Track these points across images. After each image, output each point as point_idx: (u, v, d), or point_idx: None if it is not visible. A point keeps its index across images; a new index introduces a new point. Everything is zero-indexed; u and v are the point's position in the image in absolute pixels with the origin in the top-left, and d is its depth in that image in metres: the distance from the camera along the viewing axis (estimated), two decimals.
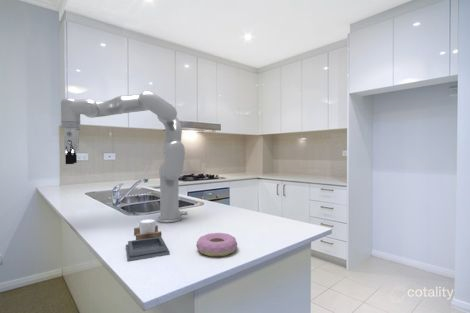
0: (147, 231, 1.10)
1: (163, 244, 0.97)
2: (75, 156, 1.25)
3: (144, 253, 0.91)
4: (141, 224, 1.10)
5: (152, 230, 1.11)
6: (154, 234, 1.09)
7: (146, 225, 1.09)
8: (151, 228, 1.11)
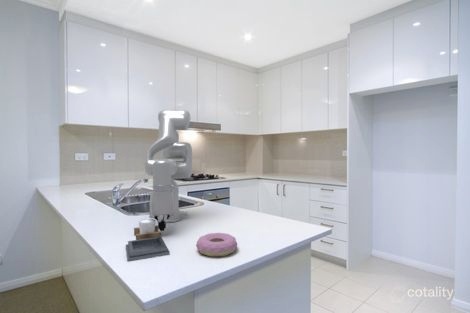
0: (147, 231, 1.10)
1: (163, 244, 0.97)
2: None
3: (144, 253, 0.91)
4: (141, 224, 1.10)
5: (152, 230, 1.11)
6: (154, 234, 1.09)
7: (146, 225, 1.09)
8: (151, 228, 1.11)
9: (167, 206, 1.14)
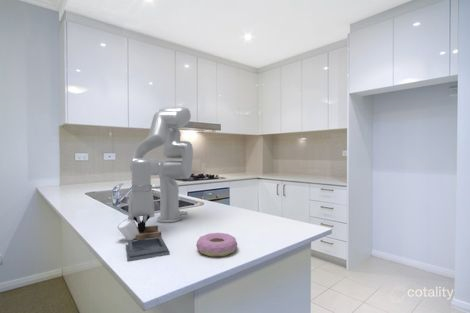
0: (130, 232, 1.06)
1: (163, 244, 0.97)
2: None
3: (144, 253, 0.91)
4: (120, 229, 1.05)
5: (134, 229, 1.07)
6: (154, 234, 1.09)
7: (125, 228, 1.05)
8: (132, 228, 1.07)
9: (147, 207, 1.10)
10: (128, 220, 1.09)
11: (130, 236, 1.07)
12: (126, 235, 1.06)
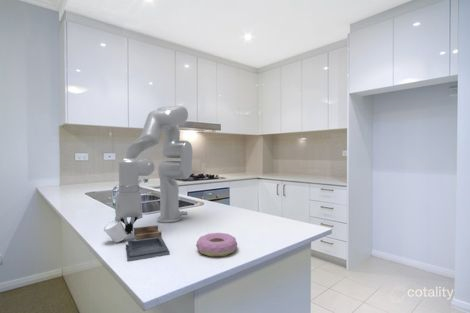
0: (117, 234, 1.04)
1: (163, 244, 0.97)
2: None
3: (144, 253, 0.91)
4: (107, 231, 1.03)
5: (121, 230, 1.05)
6: (154, 234, 1.09)
7: (112, 230, 1.03)
8: (119, 229, 1.04)
9: (134, 208, 1.08)
10: (115, 222, 1.07)
11: (117, 238, 1.04)
12: (113, 237, 1.04)
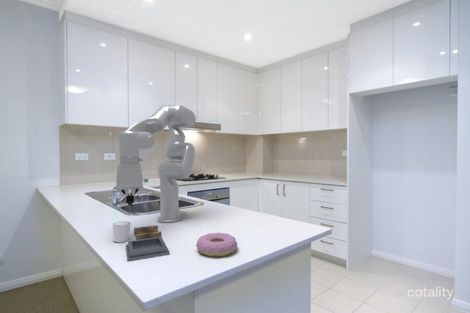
0: (122, 234, 1.06)
1: (163, 244, 0.97)
2: None
3: (144, 253, 0.91)
4: (116, 226, 1.05)
5: (127, 233, 1.07)
6: (154, 234, 1.09)
7: (121, 227, 1.05)
8: (126, 231, 1.07)
9: (135, 179, 1.08)
10: (125, 222, 1.10)
11: (120, 237, 1.05)
12: (117, 235, 1.05)
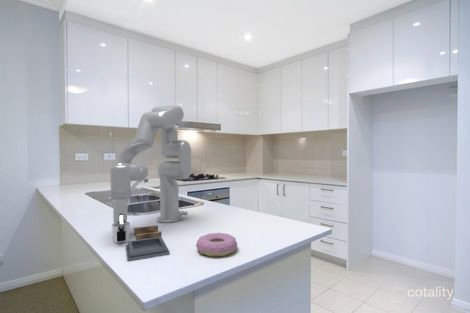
0: None
1: (163, 244, 0.97)
2: None
3: (144, 253, 0.91)
4: (114, 227, 1.05)
5: (126, 233, 1.07)
6: (154, 234, 1.09)
7: None
8: None
9: None
10: None
11: None
12: (116, 235, 1.05)
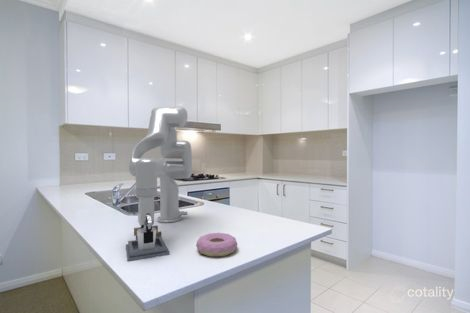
0: None
1: (163, 244, 0.97)
2: None
3: (144, 253, 0.91)
4: (140, 234, 0.94)
5: (153, 240, 0.96)
6: None
7: None
8: None
9: None
10: None
11: (145, 246, 0.94)
12: (142, 243, 0.94)
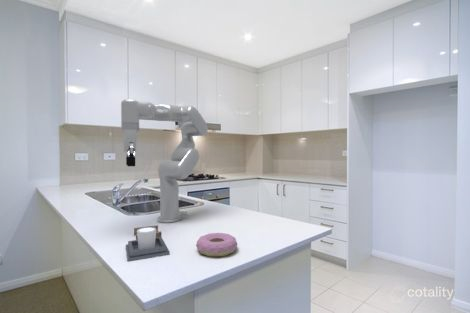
0: (147, 242, 0.94)
1: (163, 244, 0.97)
2: None
3: (144, 253, 0.91)
4: (140, 234, 0.94)
5: (153, 240, 0.96)
6: None
7: (146, 235, 0.94)
8: (152, 238, 0.95)
9: None
10: (150, 228, 0.98)
11: (145, 246, 0.94)
12: (142, 243, 0.94)
